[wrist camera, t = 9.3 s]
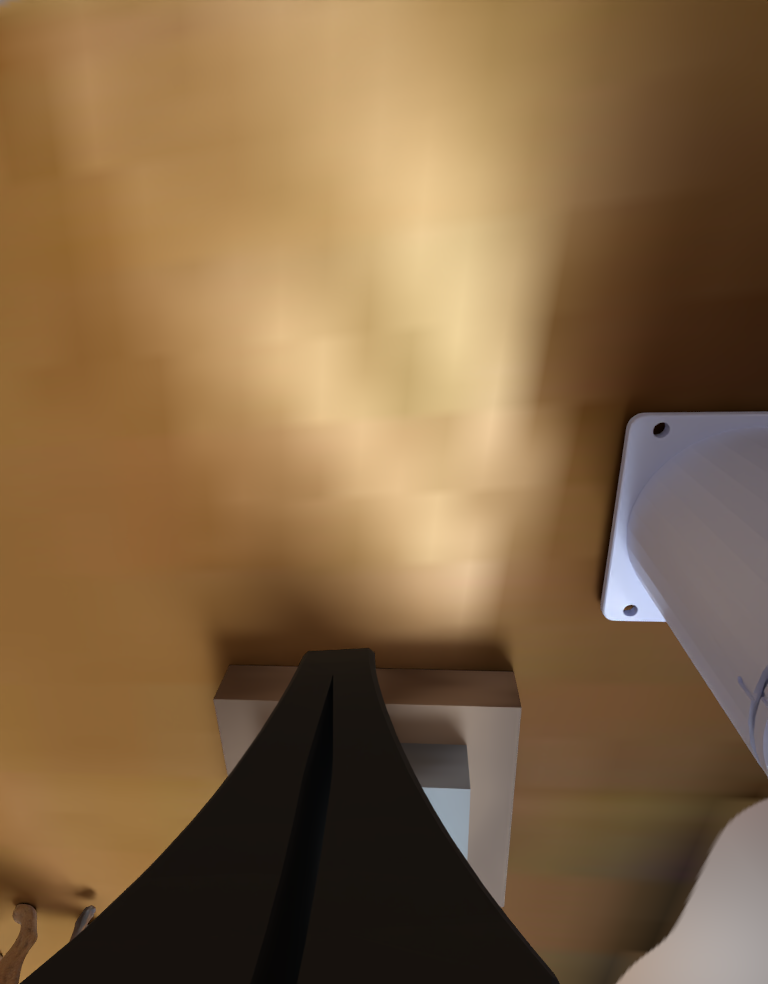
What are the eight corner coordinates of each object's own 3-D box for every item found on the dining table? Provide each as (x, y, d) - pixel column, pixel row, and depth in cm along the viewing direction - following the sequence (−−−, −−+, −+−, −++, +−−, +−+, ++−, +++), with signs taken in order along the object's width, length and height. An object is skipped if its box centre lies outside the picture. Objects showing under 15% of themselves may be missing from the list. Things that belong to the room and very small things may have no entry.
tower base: (513, 671, 23) (530, 750, 20) (498, 863, 28) (509, 956, 24) (229, 664, 24) (194, 739, 20) (261, 852, 29) (237, 940, 25)
